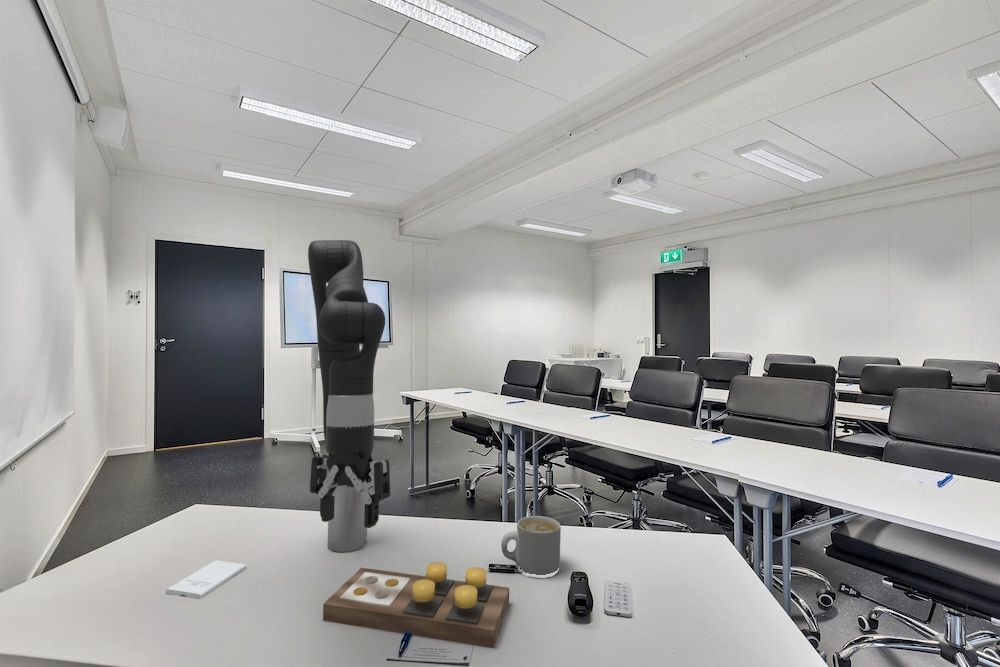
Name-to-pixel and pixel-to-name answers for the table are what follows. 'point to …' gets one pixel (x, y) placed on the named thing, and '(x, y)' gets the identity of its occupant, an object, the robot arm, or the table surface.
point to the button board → (417, 608)
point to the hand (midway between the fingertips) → (348, 523)
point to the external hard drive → (206, 579)
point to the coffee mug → (535, 545)
